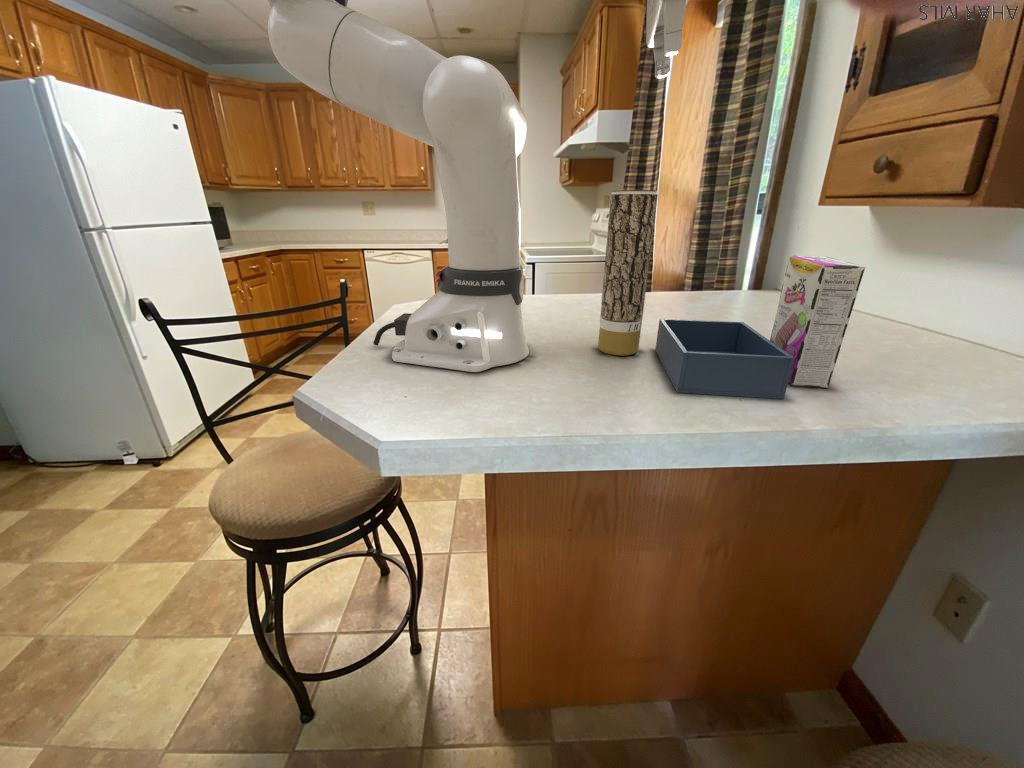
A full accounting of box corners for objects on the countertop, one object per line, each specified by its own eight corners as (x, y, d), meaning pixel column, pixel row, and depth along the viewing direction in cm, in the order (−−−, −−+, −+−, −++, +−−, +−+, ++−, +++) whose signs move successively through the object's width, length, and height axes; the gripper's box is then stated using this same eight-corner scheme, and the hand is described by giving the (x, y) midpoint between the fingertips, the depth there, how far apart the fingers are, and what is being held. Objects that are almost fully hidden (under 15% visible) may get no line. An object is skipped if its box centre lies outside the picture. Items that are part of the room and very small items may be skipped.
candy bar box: (762, 360, 68) (787, 254, 62) (796, 362, 67) (825, 255, 61) (789, 386, 58) (823, 263, 52) (829, 389, 57) (869, 265, 51)
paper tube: (593, 354, 71) (607, 190, 61) (601, 343, 77) (615, 192, 67) (635, 359, 69) (656, 189, 59) (640, 347, 74) (659, 191, 65)
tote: (677, 392, 56) (683, 352, 54) (655, 350, 73) (659, 318, 71) (783, 399, 54) (795, 358, 52) (736, 354, 71) (743, 321, 69)
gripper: (636, -28, 58) (635, 90, 63) (649, -139, 39) (647, 42, 44) (685, -40, 56) (680, 83, 61) (723, -160, 38) (712, 30, 43)
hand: (666, 66), depth 53 cm, fingers open, 8 cm apart
